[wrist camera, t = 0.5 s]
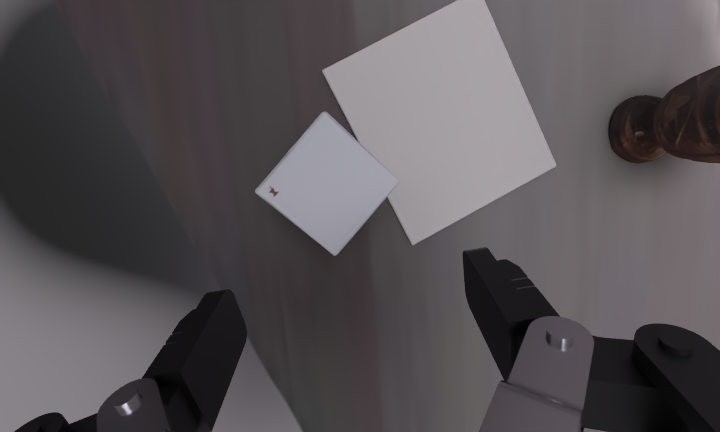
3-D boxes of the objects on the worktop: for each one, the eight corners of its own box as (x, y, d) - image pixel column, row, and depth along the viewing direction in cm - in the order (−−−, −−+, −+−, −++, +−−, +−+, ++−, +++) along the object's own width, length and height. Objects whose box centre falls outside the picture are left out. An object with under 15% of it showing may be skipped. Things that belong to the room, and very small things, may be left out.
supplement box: (329, 234, 37) (333, 261, 24) (274, 187, 36) (249, 190, 23) (375, 181, 37) (403, 181, 24) (322, 132, 36) (322, 107, 23)
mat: (322, 72, 35) (322, 70, 35) (476, -8, 36) (479, -12, 35) (411, 244, 38) (412, 245, 37) (553, 166, 39) (556, 166, 38)
